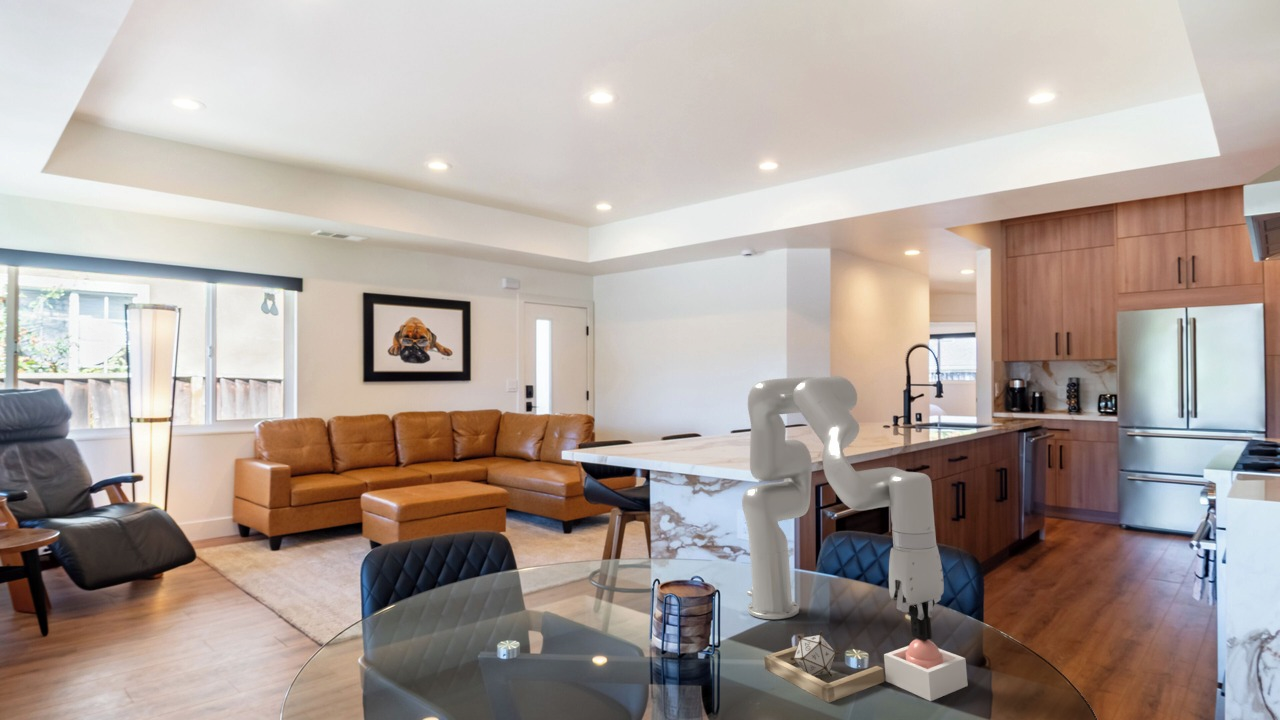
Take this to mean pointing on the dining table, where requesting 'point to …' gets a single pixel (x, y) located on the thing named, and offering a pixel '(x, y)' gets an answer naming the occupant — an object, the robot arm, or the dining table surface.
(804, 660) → the game die
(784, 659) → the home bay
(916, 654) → the dome
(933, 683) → the white open box
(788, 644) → the dining table surface
